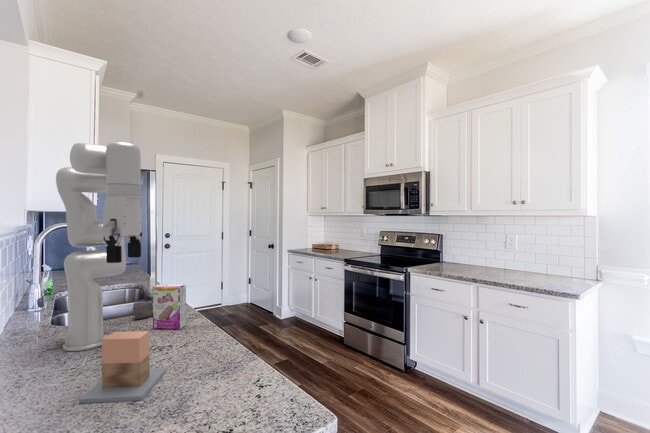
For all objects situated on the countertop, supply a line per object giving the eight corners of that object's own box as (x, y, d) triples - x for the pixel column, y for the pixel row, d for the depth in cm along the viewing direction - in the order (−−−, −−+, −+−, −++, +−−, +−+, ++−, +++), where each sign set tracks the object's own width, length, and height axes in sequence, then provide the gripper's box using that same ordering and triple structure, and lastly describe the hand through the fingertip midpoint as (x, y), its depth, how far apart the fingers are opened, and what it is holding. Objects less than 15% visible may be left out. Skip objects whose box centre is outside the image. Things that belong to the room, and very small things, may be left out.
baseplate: (79, 403, 76) (79, 399, 76) (113, 374, 90) (113, 370, 90) (142, 400, 77) (142, 395, 77) (166, 371, 91) (166, 368, 91)
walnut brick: (102, 388, 81) (101, 363, 81) (113, 378, 86) (113, 355, 86) (140, 386, 81) (140, 362, 81) (149, 376, 86) (149, 353, 86)
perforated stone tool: (165, 311, 149) (165, 295, 149) (170, 313, 146) (170, 297, 146) (129, 319, 137) (129, 303, 137) (134, 322, 134) (134, 305, 134)
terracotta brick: (102, 363, 81) (101, 339, 81) (114, 355, 86) (113, 332, 86) (139, 362, 81) (139, 338, 81) (149, 353, 86) (149, 331, 86)
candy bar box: (152, 329, 125) (151, 286, 125) (159, 325, 130) (159, 283, 130) (179, 330, 124) (179, 287, 124) (186, 325, 129) (186, 284, 129)
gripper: (126, 194, 92) (127, 255, 92) (86, 190, 74) (87, 265, 74) (154, 194, 92) (155, 255, 92) (121, 190, 75) (122, 264, 75)
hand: (124, 259), depth 83 cm, fingers open, 9 cm apart
